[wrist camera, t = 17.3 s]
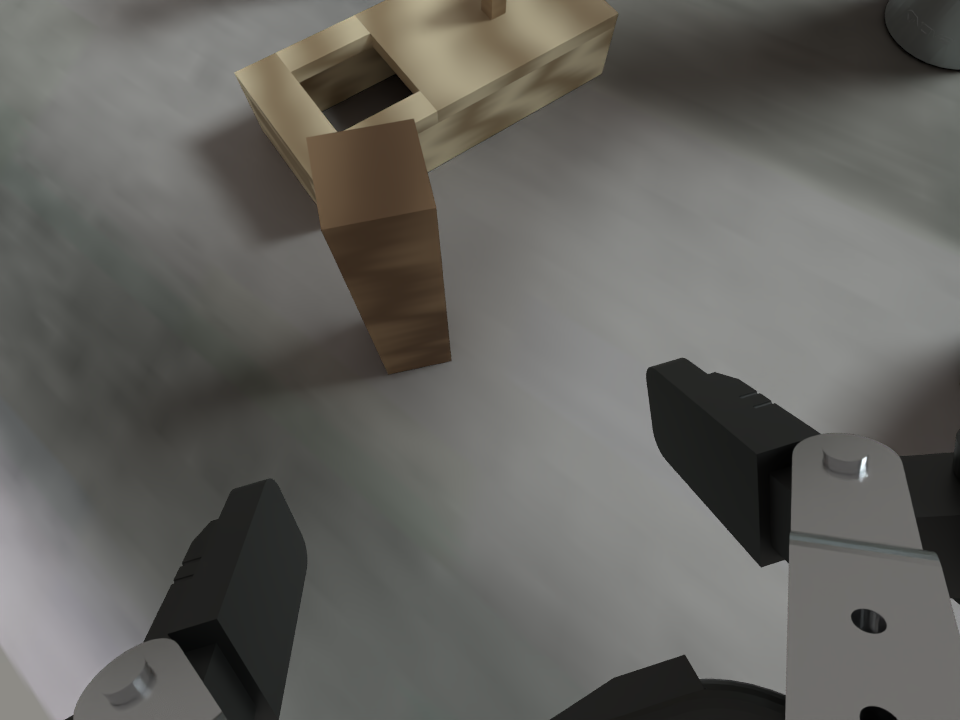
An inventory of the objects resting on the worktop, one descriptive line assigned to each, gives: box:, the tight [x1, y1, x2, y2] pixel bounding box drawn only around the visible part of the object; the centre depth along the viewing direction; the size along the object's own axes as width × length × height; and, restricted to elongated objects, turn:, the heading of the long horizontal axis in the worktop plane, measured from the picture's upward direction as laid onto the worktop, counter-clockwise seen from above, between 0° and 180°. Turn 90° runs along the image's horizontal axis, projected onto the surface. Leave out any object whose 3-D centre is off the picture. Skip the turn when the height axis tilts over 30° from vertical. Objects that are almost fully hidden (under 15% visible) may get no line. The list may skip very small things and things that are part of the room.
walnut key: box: [306, 119, 451, 375], centre depth 27 cm, size 4×4×16 cm
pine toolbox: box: [235, 0, 618, 205], centre depth 36 cm, size 24×10×10 cm, turn 126°
